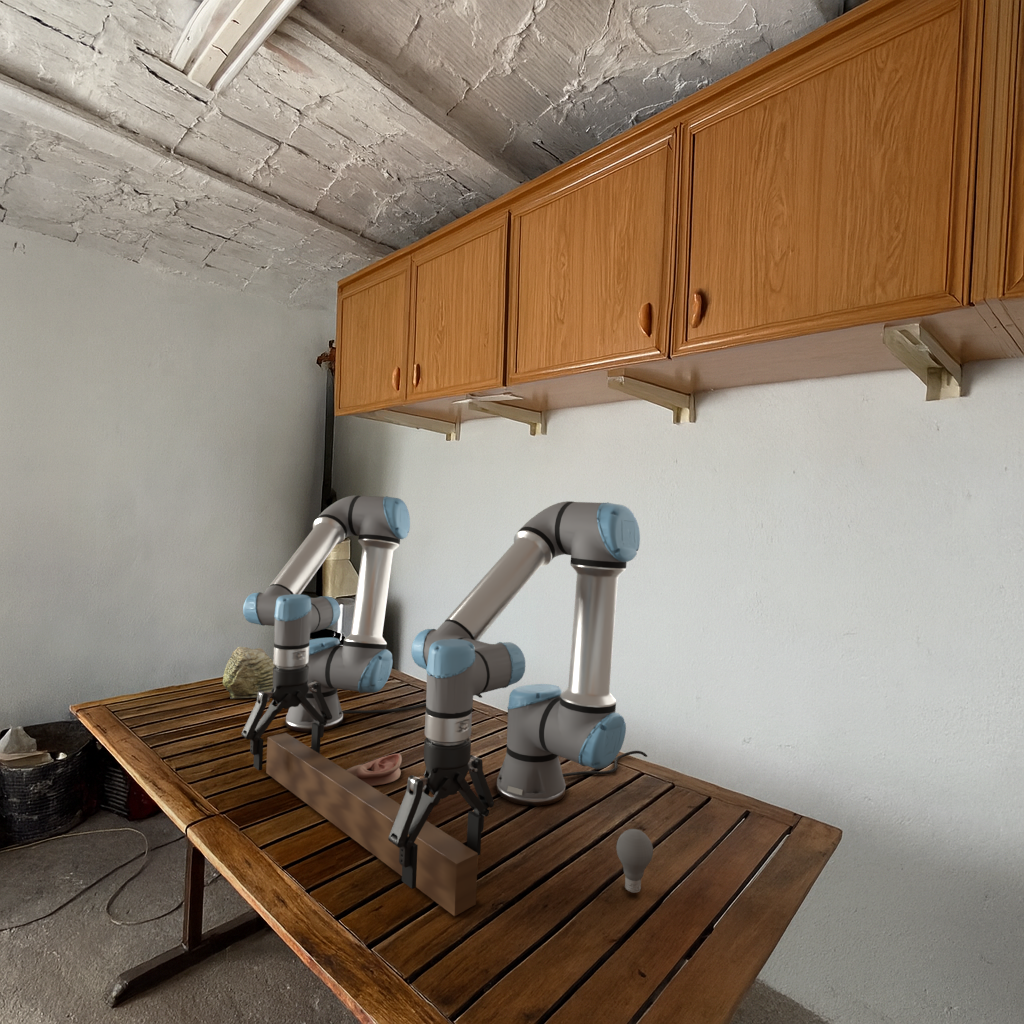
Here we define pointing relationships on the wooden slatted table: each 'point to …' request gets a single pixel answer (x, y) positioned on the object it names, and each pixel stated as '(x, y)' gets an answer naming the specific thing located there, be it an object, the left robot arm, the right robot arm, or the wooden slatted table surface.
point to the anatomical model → (378, 770)
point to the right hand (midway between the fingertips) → (442, 867)
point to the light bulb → (634, 857)
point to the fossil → (248, 673)
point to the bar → (374, 821)
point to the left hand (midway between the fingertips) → (287, 760)
